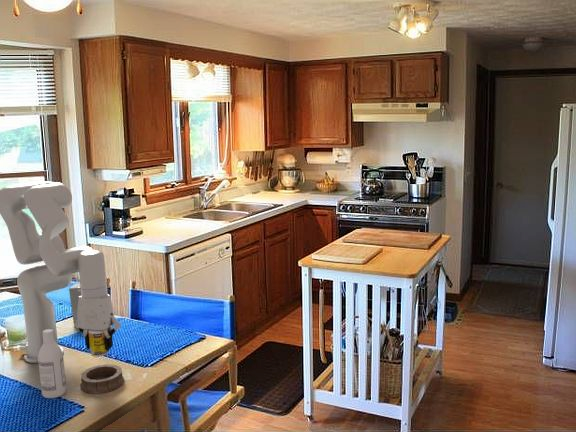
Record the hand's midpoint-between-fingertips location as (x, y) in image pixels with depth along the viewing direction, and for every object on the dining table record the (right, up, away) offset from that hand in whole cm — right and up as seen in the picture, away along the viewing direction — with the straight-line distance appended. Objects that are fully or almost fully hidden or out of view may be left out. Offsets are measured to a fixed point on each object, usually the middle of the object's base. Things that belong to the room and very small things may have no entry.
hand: (99, 347), depth 178 cm
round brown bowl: (0, -12, +2) cm, 12 cm away
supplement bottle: (0, -2, 0) cm, 2 cm away
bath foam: (-13, -13, -3) cm, 19 cm away
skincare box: (-24, -3, +54) cm, 59 cm away
